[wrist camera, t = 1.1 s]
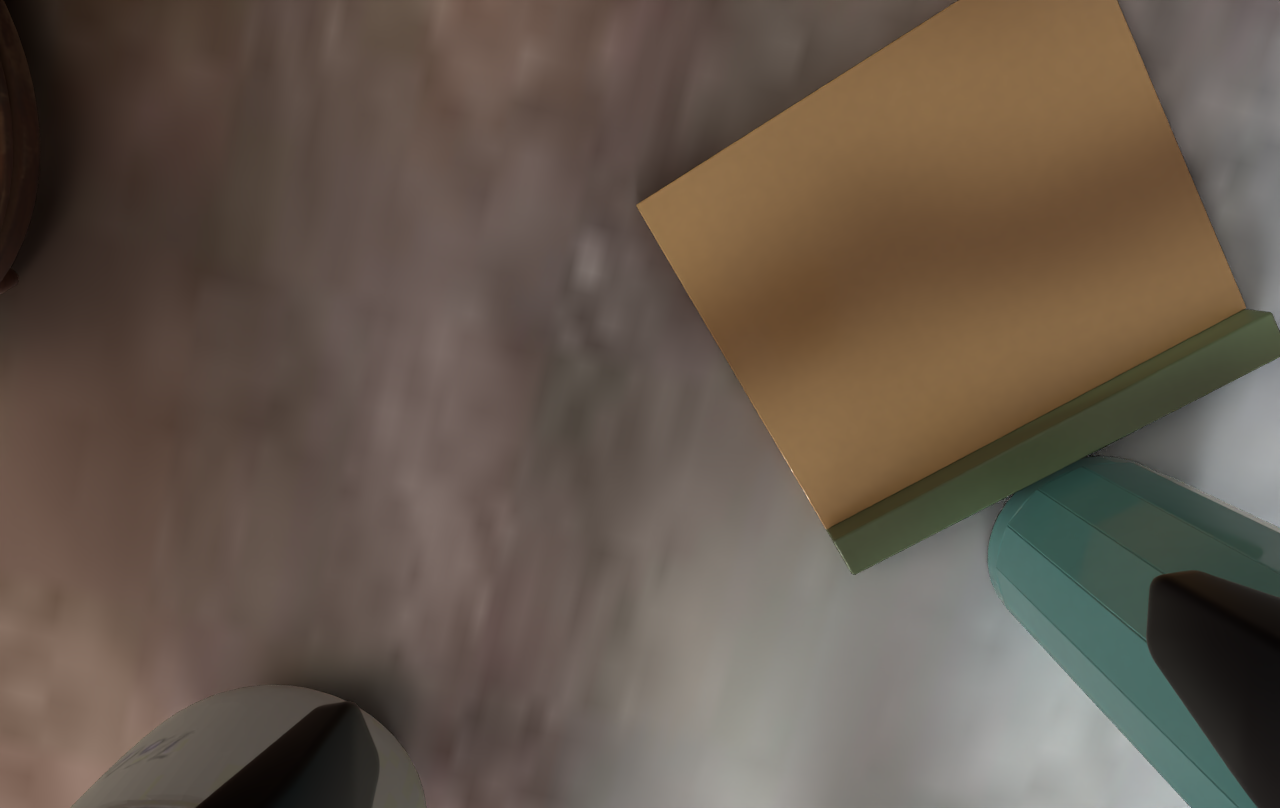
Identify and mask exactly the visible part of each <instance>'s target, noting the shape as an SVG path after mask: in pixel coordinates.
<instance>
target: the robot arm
mask: <svg viewBox="0 0 1280 808" xmlns="http://www.w3.org/2000/svg"><path fill="white" fill-rule="evenodd" d="M1146 641H1147V646H1148V649H1149V652H1150V654H1151V656H1152V658H1153V660H1154V662H1155V663H1156V665H1157V666H1158V668H1159V669H1160V670H1161V672H1162V673H1163V675H1164V676H1165V678H1166V679H1167V681H1168V682H1169V683H1170V685H1171V686H1172V688H1173V689H1174V691H1175V692H1176V694H1177V695H1178V696H1179V698H1180V699H1181V701H1182V702H1183V704H1184V705H1185V707H1186V708H1187V709H1188V711H1189V712H1190V714H1191V715H1192V717H1193V718H1194V720H1195V721H1196V722H1197V724H1198V725H1199V727H1200V728H1201V730H1202V731H1203V733H1204V734H1205V736H1206V737H1207V738H1208V740H1209V741H1210V743H1211V744H1212V746H1213V747H1214V749H1215V750H1216V751H1217V753H1218V754H1219V756H1220V757H1221V759H1222V760H1223V762H1224V763H1225V764H1226V766H1227V767H1228V769H1229V770H1230V772H1231V773H1232V774H1233V776H1234V777H1235V779H1236V780H1237V781H1238V783H1239V784H1240V785H1241V787H1242V788H1243V789H1244V791H1245V792H1246V794H1247V795H1248V796H1249V797H1250V799H1251V800H1252V801H1253V802H1254V804H1255V805H1256V806H1257V808H1280V598H1279V597H1276V596H1273V595H1270V594H1267V593H1264V592H1261V591H1258V590H1255V589H1252V588H1250V587H1247V586H1244V585H1241V584H1238V583H1235V582H1232V581H1229V580H1226V579H1223V578H1220V577H1217V576H1214V575H1211V574H1208V573H1205V572H1201V571H1196V570H1188V571H1182V572H1175V573H1169V574H1162V575H1159V576H1157V577H1155V578H1154V579H1153V580H1152V582H1151V584H1150V588H1149V600H1148V614H1147V628H1146ZM379 771H380V760H379V755H378V751H377V748H376V746H375V744H374V741H373V739H372V736H371V734H370V731H369V729H368V727H367V724H366V722H365V719H364V717H363V714H362V712H361V710H360V708H359V706H358V705H357V704H356V703H354V702H351V701H344V702H338V703H331V704H325V705H321V706H318V707H316V708H315V709H313V710H312V711H311V712H310V713H309V714H307V715H306V716H305V717H304V718H302V719H301V720H300V721H299V722H298V723H296V724H295V725H294V726H293V727H292V728H290V729H289V730H288V731H287V732H286V733H284V734H283V735H282V736H281V737H280V738H278V739H277V740H276V741H275V742H274V743H272V744H271V745H270V746H269V747H268V748H266V749H265V750H264V751H263V752H261V753H260V754H259V755H258V756H257V757H255V758H254V759H253V760H252V761H251V762H249V763H248V764H247V765H246V766H245V767H243V768H242V769H241V770H240V771H239V772H237V773H236V774H235V775H234V776H233V777H231V778H230V779H229V780H228V781H227V782H225V783H224V784H223V785H222V786H220V787H219V788H218V789H217V790H216V791H214V792H213V793H212V794H211V795H210V796H208V797H207V798H206V799H205V800H204V801H202V802H201V803H200V804H199V805H198V806H196V807H195V808H372V806H373V802H374V797H375V792H376V788H377V783H378V778H379Z"/></svg>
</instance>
